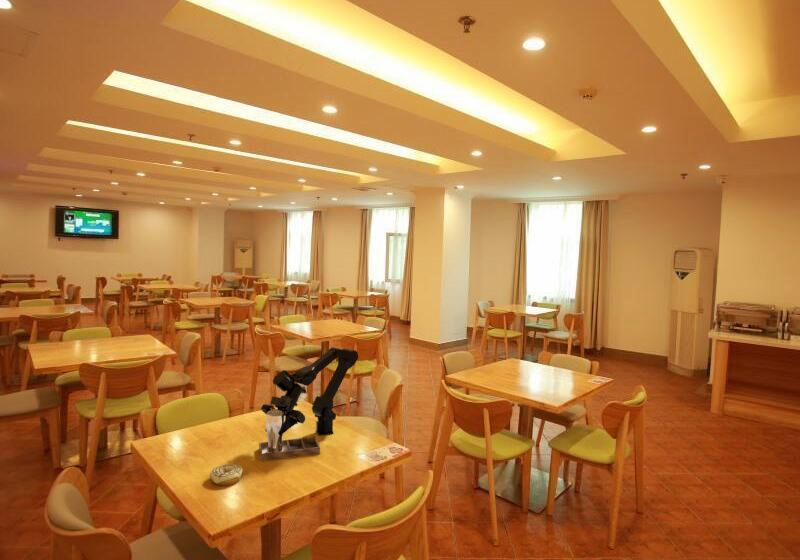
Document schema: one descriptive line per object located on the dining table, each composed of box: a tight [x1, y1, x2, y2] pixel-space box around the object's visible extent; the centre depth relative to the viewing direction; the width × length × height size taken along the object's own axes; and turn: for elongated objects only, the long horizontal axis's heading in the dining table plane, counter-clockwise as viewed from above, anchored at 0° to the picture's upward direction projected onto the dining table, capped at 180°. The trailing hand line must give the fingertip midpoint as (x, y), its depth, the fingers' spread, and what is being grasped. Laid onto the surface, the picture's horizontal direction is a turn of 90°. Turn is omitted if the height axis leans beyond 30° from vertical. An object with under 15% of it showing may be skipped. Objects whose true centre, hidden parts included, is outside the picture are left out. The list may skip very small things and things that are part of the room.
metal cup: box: [265, 410, 285, 453], centre depth 181 cm, size 7×7×15 cm
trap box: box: [258, 436, 321, 462], centre depth 183 cm, size 22×11×2 cm, turn 109°
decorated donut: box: [209, 463, 243, 486], centre depth 160 cm, size 10×11×4 cm
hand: (272, 433), depth 180 cm, fingers closed on metal cup, 6 cm apart
